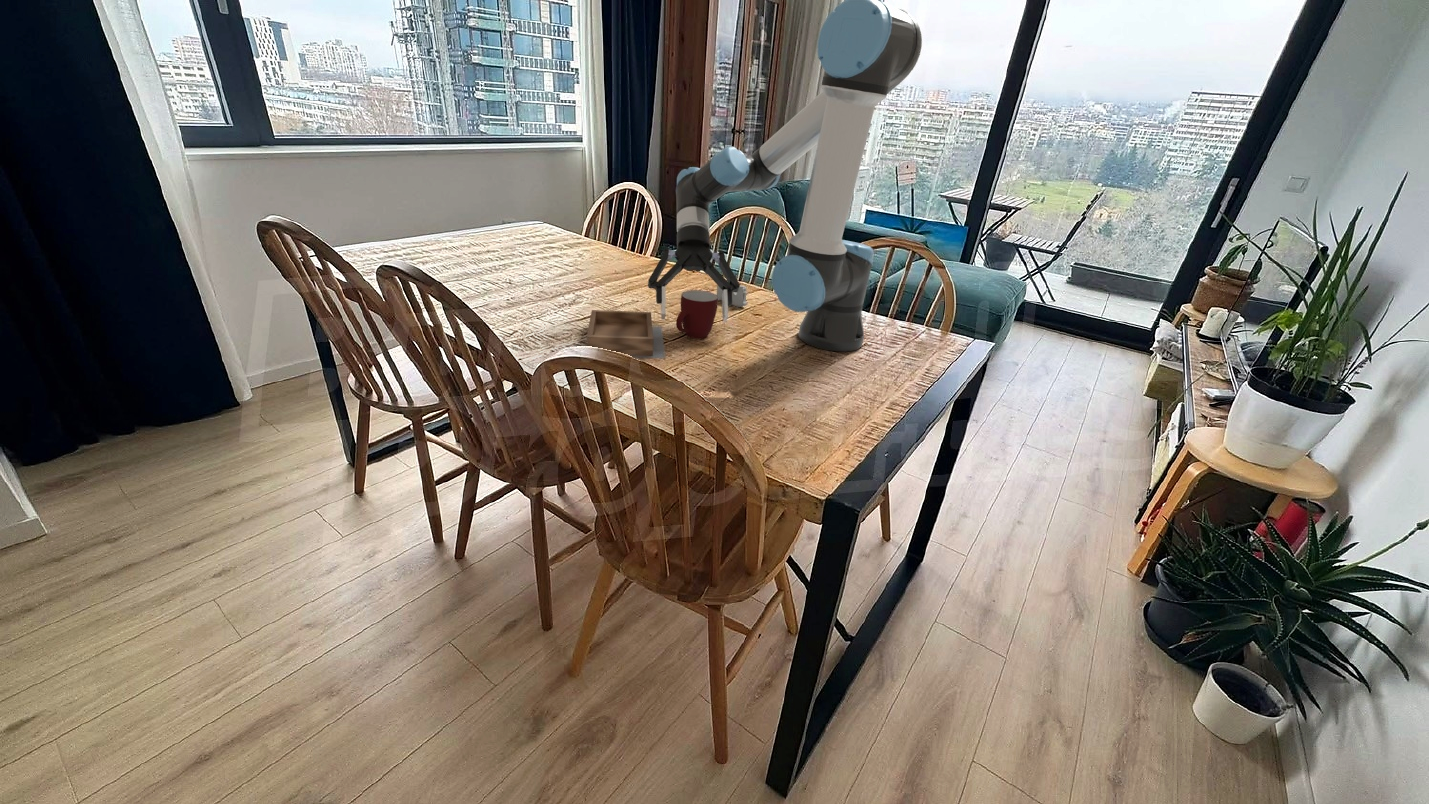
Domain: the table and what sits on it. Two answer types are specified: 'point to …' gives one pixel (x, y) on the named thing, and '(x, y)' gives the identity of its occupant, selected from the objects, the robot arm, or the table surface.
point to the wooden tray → (621, 332)
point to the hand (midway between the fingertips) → (694, 318)
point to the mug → (697, 313)
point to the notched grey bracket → (735, 296)
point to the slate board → (655, 344)
